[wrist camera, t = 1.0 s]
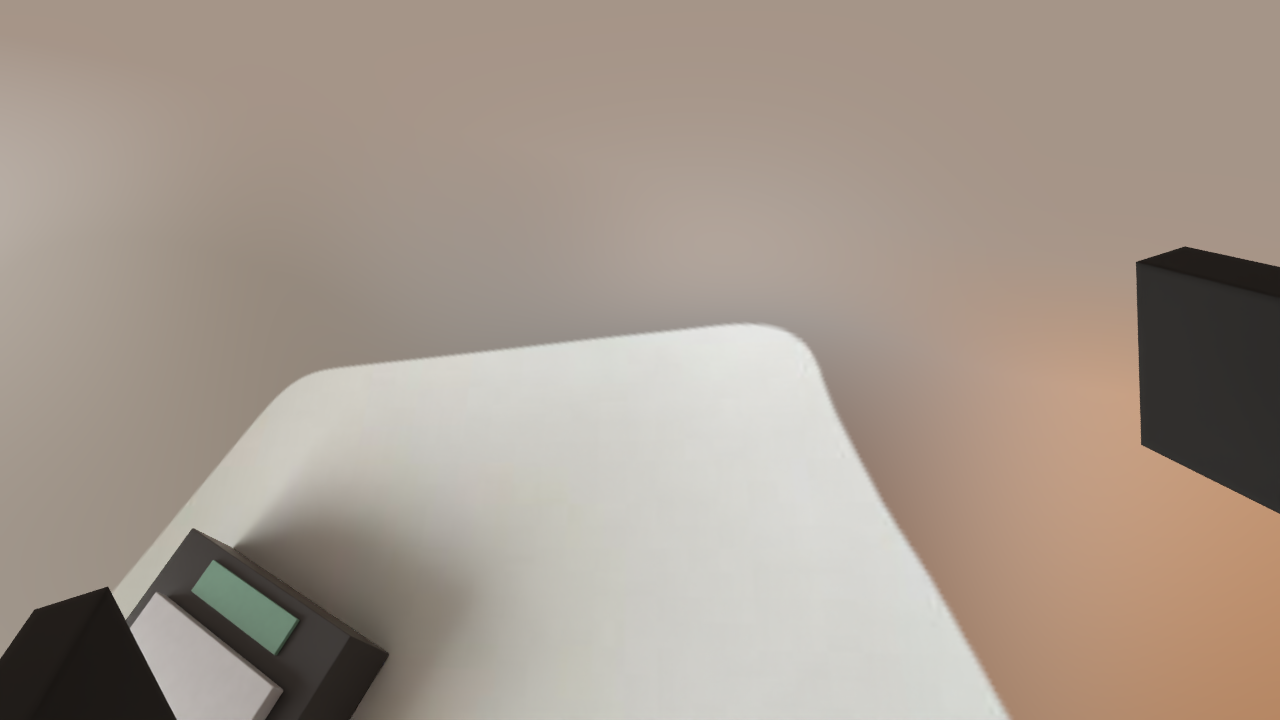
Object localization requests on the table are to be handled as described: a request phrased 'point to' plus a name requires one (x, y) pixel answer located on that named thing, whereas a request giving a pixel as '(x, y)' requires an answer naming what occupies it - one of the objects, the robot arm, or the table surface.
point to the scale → (246, 642)
